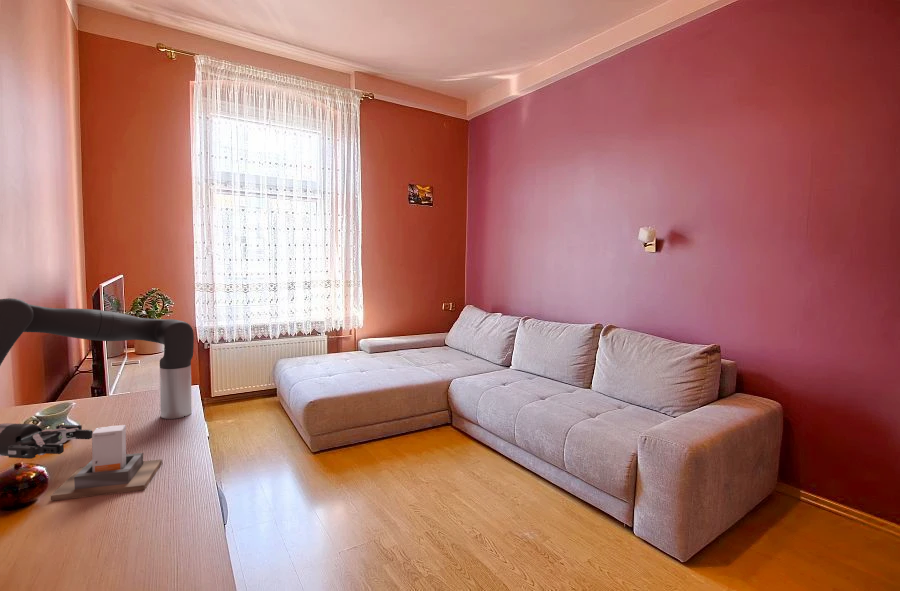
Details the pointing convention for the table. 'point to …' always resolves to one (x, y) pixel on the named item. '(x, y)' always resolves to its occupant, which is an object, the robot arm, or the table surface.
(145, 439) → the table surface
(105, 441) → the skincare box
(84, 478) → the socket stand
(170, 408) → the robot arm
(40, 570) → the table surface
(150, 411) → the table surface
